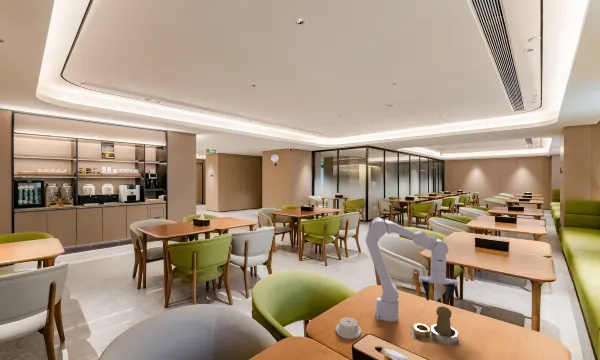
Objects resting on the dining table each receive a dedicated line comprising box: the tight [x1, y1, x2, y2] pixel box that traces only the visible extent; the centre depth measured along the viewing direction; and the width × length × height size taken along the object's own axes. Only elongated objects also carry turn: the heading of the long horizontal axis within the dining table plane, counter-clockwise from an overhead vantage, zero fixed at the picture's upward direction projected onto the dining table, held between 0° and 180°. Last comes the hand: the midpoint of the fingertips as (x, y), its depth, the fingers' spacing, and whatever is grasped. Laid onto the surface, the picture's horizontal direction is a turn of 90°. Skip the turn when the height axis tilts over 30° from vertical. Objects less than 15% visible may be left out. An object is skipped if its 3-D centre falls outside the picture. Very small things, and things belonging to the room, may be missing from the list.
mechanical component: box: [335, 316, 362, 340], centre depth 115 cm, size 10×4×10 cm
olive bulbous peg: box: [435, 306, 453, 337], centre depth 110 cm, size 6×6×11 cm
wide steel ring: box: [430, 323, 459, 346], centre depth 110 cm, size 9×9×2 cm
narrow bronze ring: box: [413, 323, 431, 338], centre depth 112 cm, size 6×6×2 cm
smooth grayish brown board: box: [408, 325, 462, 347], centre depth 111 cm, size 17×9×1 cm, turn 76°
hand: (437, 300), depth 120 cm, fingers open, 7 cm apart
